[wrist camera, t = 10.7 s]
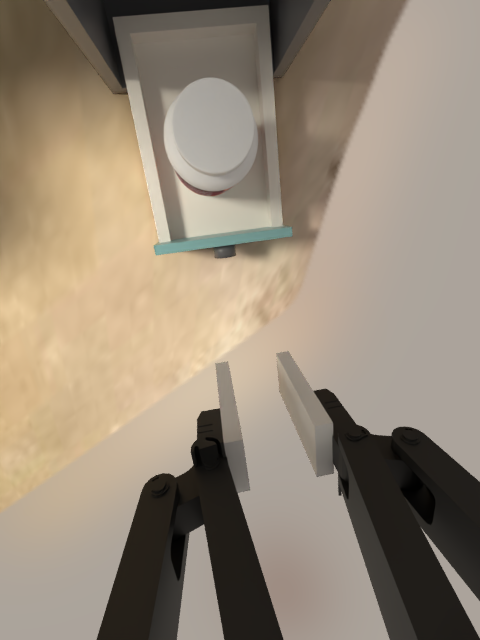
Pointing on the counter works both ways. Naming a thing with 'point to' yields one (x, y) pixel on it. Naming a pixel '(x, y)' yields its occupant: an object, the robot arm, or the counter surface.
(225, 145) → the pill bottle
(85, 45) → the housing
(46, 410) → the counter surface
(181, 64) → the tray
